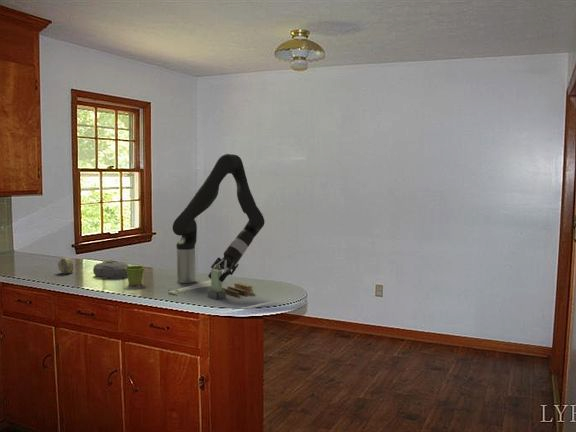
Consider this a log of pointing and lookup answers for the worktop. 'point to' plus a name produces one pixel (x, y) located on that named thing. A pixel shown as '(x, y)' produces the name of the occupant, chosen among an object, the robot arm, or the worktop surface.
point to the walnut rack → (235, 292)
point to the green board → (216, 280)
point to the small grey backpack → (110, 269)
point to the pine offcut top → (243, 286)
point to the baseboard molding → (193, 287)
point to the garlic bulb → (65, 265)
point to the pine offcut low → (246, 291)
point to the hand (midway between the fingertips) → (215, 279)
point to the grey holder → (216, 294)
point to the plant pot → (135, 275)
